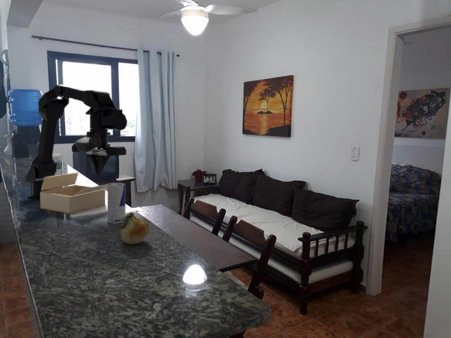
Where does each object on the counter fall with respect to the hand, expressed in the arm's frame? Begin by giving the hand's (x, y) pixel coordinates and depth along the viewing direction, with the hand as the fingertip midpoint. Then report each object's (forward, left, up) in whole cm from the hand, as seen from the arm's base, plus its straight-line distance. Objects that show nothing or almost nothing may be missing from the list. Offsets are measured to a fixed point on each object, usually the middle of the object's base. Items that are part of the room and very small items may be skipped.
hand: (98, 174), depth 114 cm
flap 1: (-17, 0, -4) cm, 17 cm away
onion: (+29, -20, -13) cm, 38 cm away
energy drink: (+13, -7, -13) cm, 20 cm away
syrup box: (-48, +25, -13) cm, 56 cm away
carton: (-11, 0, -13) cm, 17 cm away
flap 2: (-2, 0, -5) cm, 5 cm away
